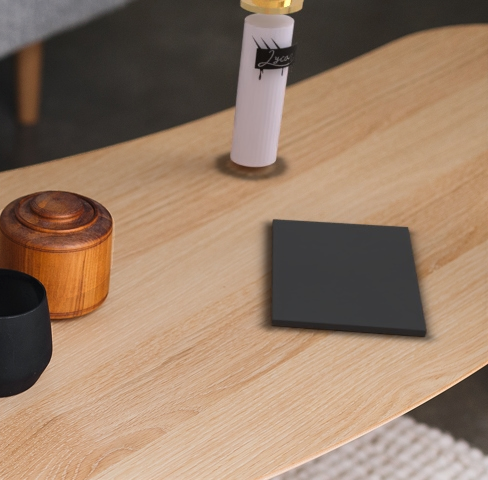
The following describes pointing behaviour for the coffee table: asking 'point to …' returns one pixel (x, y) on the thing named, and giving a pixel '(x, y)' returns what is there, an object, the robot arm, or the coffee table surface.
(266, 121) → the perfume bottle
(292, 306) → the mat
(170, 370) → the coffee table surface
